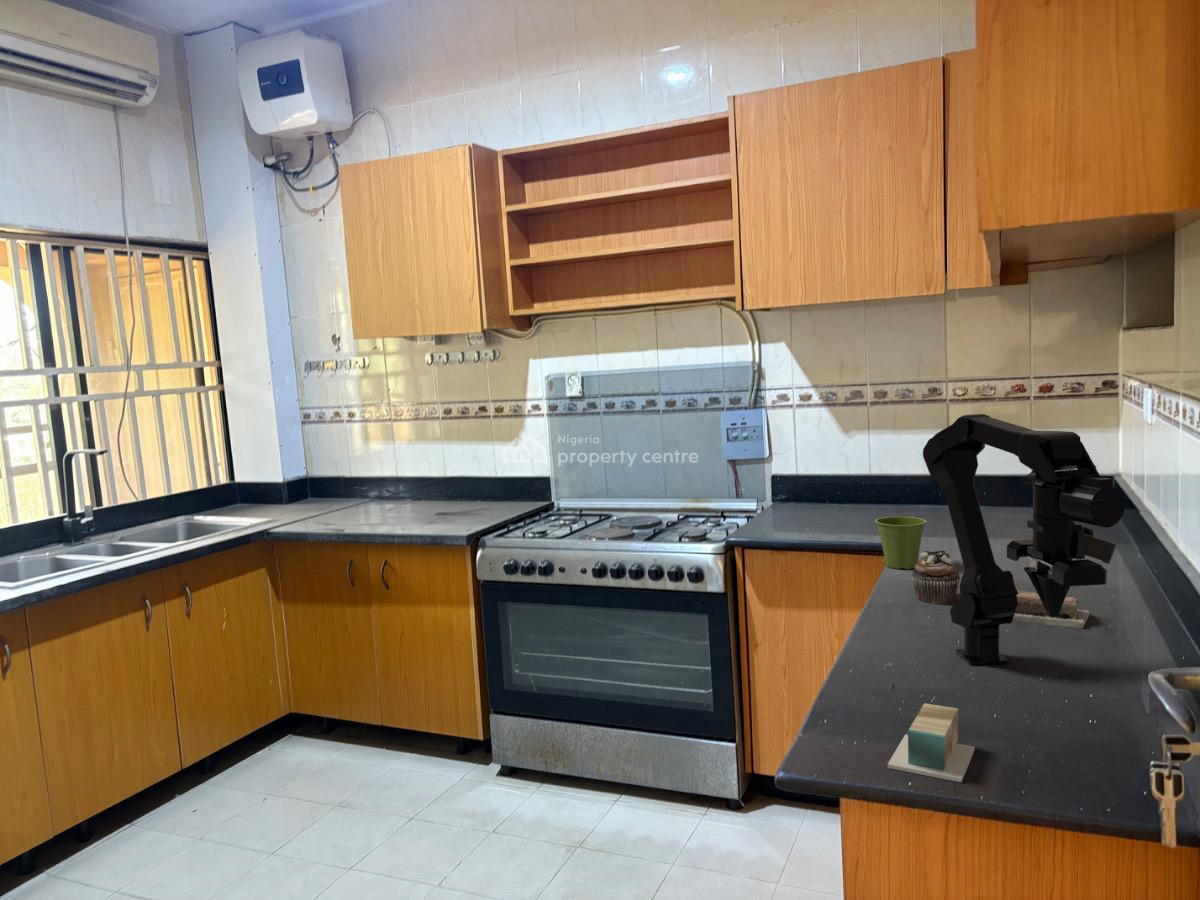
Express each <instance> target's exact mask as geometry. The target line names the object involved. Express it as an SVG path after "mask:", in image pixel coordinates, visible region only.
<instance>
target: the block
mask: <svg viewBox="0 0 1200 900" xmlns="http://www.w3.org/2000/svg"><path fill="white" fill-rule="evenodd" d="M907 735H908V764H913V765H918V766H923V767H928V768H933V769H938V770H944V769H945V767H946V765H947V763H948V761H949V758H950V756H951V754H952V752H953V750H954V747H955V745H956V743H957V744H958V740H959V708H956V707H950V706H943V705H937V704H930V703H923V705H922V706H921V708H920V710H919V712H918V713H917V715H916V717H915V718H914V720H913V722H912V723H911V725H910V727H909V729H908V730H907Z"/></svg>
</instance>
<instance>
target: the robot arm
mask: <svg viewBox="0 0 1200 900" xmlns="http://www.w3.org/2000/svg"><path fill="white" fill-rule="evenodd" d="M986 446H990V447H992V448H996V449H998V450H1000V451H1004V452H1006V453H1010V454H1013V455H1014V456H1016V457H1017V459H1018V460H1019V462H1020V463H1021V464H1022V465H1023V466H1025V467H1026V468H1029V469H1030V470H1031V472H1029V473H1028V474H1027V475H1025V477H1023V479H1022V481H1023V482H1024V484H1025V483H1026V484H1030V485H1031V484H1032V491H1033V492H1032V519H1028V520H1027V521H1026V522H1027V528H1029V529H1032V539H1014V540H1011V541H1010V543H1008V544H1007V545H1006V558H1007V559H1009V560H1011V561H1014V562H1018V561H1019V559H1020V558H1027V559H1028V566H1025V567H1024V568H1023V570H1024V572H1025V573H1026V574H1027V576H1028V577H1029V578H1028V579H1029V580H1030V583H1031V584H1032V585H1033V588H1034V589H1035V592H1036V593H1038V595H1039V597H1040V599H1041V601H1042V604H1043V606H1044V608H1045V610H1046V612H1047V614H1048V616H1050V617H1052V618H1054V617H1058V615H1059V613H1060V610H1061V608H1062V605H1063V602H1064V600H1065V597H1067V594H1068V592H1069V591H1070V588H1071V587H1081V586H1082V587H1083V586H1102V585H1103V586H1104V585H1107V583H1108V571H1107V569H1106V568H1105V567H1104V566H1103V565H1101V564H1100V563H1098V562H1095V561H1093V560H1090V559H1086V557H1090V558H1094V559H1096V560H1100V561H1101V562H1103V563H1105V564H1108V565H1109V564H1110V563H1111V561H1112V557H1113V556H1114V552H1115V551H1116V548H1117V544H1116V543H1114V542H1111V541H1108V540H1106V539H1103V538H1100V537H1097V536H1095V535H1094V530H1093V528H1090V527H1086V526H1083V525H1082V524H1081V523H1083V524H1087V525H1091V526H1096V527H1101V528H1111V527H1113V526H1115V525H1117V524H1118V523H1119V522H1120V521H1121V520H1122V517H1123V515H1124V513H1125V510H1126V508H1125V507H1126V501H1124V498H1123V495H1122V493H1121V492H1120V491H1119V490H1118V489H1117V488H1115V487H1114V486H1113V483H1114V481H1113V479H1112V478H1109V477H1100V475H1101V474H1100V473H1099V471H1098V469H1097V466H1096V465H1095V463H1094V462H1093V460H1092V458H1091V456H1090V455H1089V453H1088V451H1087V449H1086V447H1085V445H1084V443H1083V442H1082V440H1081V436H1080V435H1079V434H1078V433H1076V432H1074V431H1066V430H1064V431H1063V430H1062V431H1061V430H1034V429H1031V428H1028V427H1025V426H1021V425H1017V424H1014V423H1010V422H1007V421H1004V420H1000V419H997V418H995V417H991V416H989V415H988V414H985V413H976V414H963V415H962V416H960V417H957V419H956V420H954V422H953V423H952V424H951V425H949V426H947V427H945V428H944V429H941V430H940V431H939V432H937V433H935V434H934V435H933V436H932V437H931V438H929V439H928V440H927V442H926V444H925V445H924V446H923V449H922V457H923V461H924V463H925V466H926V469H927V471H928V473H929V476H930V477H931V478H932V479H933V480H934V481H935V482H936V483H937V484H938V485H939V486H940V487H941V488H942V490H943V491H944V496H945V499H946V500H945V501H946V503H947V506H948V511H949V515H950V518H951V522H952V526H953V529H954V534H955V537H956V541H957V545H958V549H959V552H960V556H961V560H962V563H963V568H964V569H963V574H962V576H961V578H960V581H959V585H958V587H959V588H958V589H959V593H960V598H959V599H958V600H957V601H956V602H955V604H954V605H952V607H951V608H950V609H949V614H950V619H951V622H952V623H953V624H955V625H958V626H960V627H962V628H963V648H958V649H956V650H955V653H956V654H957V655H958V656H959V657H961V658H962V659H963V660H964V661H966V663H968V664H969V665H972V666H973V665H990V664H994V665H995V664H1008V663H1009V659H1008V658H1007V657H1005V656H1004V655H1003V654H1001V649H1000V648H1001V644H1000V643H1001V641H1000V640H1001V639H1000V637H1001V634H1000V633H1001V632H1000V630H1001V628H1000V627H1001V626H1002V625H1006V624H1007V625H1011V624H1013V621H1014V620H1013V617H1014V614H1015V610H1016V607H1017V606H1018V599H1017V595H1018V594H1019V593H1018V591H1019V590H1017V588H1016V585H1015V581H1014V575H1013V573H1012V572H1011V570H1003V568H1001V567H1000V566H999V565H998V564H997V563H996V561H995V556H994V553H993V550H992V546H991V542H990V539H989V534H988V531H987V528H986V525H985V524H986V523H985V520H984V517H983V513H982V509H981V505H980V502H979V498H978V496H977V495H978V494H977V492H976V488H975V485H974V480H975V476H976V473H977V471H978V470H977V469H978V467H979V463H978V455H979V454H980V453H981V452H983V450H984V449H985V448H986Z"/></svg>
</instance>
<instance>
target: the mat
mask: <svg viewBox="0 0 1200 900" xmlns="http://www.w3.org/2000/svg"><path fill="white" fill-rule="evenodd" d="M975 748H976V747H975V746H974V745H967V744H963V743H958V742H957V743H956V745H955V747H954V750H953V752H952V754H951V756H950V758H949V761H948V763H947V765H946V767H945V769H944V770H938V769H933V768H928V767H923V766H918V765H913V764H908V733H907V734H904V736H903V738H902V739H901V741H900V742H899V744H898V746H897V747H896V749H895V751H894V753H893V754H892V756H891V757H890V760H889V761H888V763H887V769H891V770H892V769H893V770H896V771H902V772H907V773H911V774H916V775H921V776H925V777H927V776H928V777H932V778H936V779H941V780H947V781H952V782H957V783H963V779H964V777H965V774H966V773H967V770H968V768H969V764H970V763H971V760H972V758H973V756H974V753H975V750H976V749H975Z"/></svg>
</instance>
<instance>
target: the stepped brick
mask: <svg viewBox="0 0 1200 900" xmlns="http://www.w3.org/2000/svg"><path fill="white" fill-rule="evenodd" d="M1017 591H1018V593H1019V594H1018V595H1017V599H1018V606H1017V607H1016V610H1015V614H1014V617H1013V620H1012V621H1015V622H1016V621H1017V622H1023V623H1029V624H1040V625H1045V626H1046V625H1048V626H1053V627H1054V626H1055V627H1063V628H1064V627H1065V628H1071V629H1082V630H1083V628H1084V626H1085V624H1086V623H1087V621H1088V619H1089V615H1090V610H1087V609H1086V610H1085V609H1083V610H1081V609H1079V608H1078V603H1079V599H1078V598H1077V597H1073V596H1066V597H1065V600H1064V602H1063V605H1062V608H1061V610H1060V613H1059V615H1058V617H1054V618H1052V617H1050V616H1048V614H1047V612H1046V610H1045V608H1044V606H1043V604H1042V601H1041V599H1040V597H1039V595H1038V593H1037V592H1032V591H1025V590H1017Z"/></svg>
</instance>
